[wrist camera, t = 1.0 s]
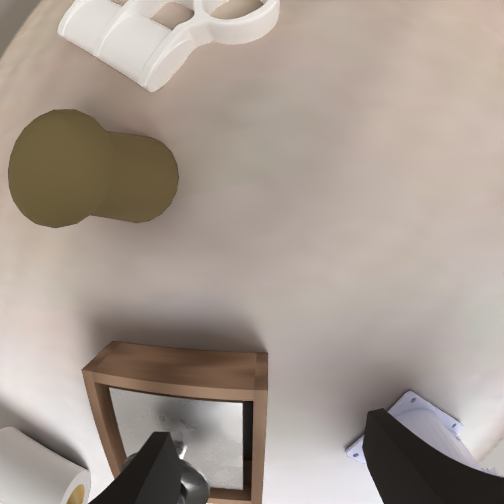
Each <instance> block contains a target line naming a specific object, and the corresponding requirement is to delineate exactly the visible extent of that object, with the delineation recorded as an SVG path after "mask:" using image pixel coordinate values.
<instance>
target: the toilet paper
mask: <svg viewBox="0 0 504 504" xmlns="http://www.w3.org/2000/svg"><path fill="white" fill-rule="evenodd" d="M90 487H91V475H90V472H89V471H88V470H86V469H84V468H82V467H80V466H78V465H76V464H74V463H72V462H71V461H69V460H67V459H65V458H63V457H61V456H60V455H58V454H56V453H54V452H53V451H51V450H49V449H47V448H46V447H44V446H43V445H41V444H39V443H38V442H36V441H34V440H33V439H31V438H30V437H28V436H27V435H25V434H24V433H22V432H21V431H19V430H18V429H16V428H14V427H11V426H8V427H4V428H1V429H0V502H1V503H2V504H87V500H88V497H89V492H90Z"/></svg>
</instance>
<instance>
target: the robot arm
mask: <svg viewBox="0 0 504 504" xmlns="http://www.w3.org/2000/svg"><path fill="white" fill-rule="evenodd" d="M412 398H414V399H413V400H411V399H412ZM410 400H411V401H410ZM462 427H463V425H462V424H461V423H460V422H458V421H457V420H455V419H454V418H452V417H451V416H449V415H448V414H446V413H444V412H443V411H441V410H440V409H438V408H437V407H435V406H434V405H432V404H431V403H429V402H427V401H426V400H424V399H423V398H421V397H420V396H418V395H417V394H415V393H414V392H412V391H408V392H406V393H405V394H404V395H403V396H402V397H401V398H400V399H399V400H398V401H397V402H396V403H395V404H394V405H393V407H392V408H391V409H390V410H389V411H388V412H387V411H386V410H385V409H383V408H382V409H378V410H374V411H369V412H368V415H367V421H366V427H365V433H364V435H363V436H362V437H360V438H359V439H358V440H357V441H356V442H355V443H354V444H353V445H352V446H350V447H349V448H348V449H347V450H346V455H347V456H348V457H350V458H352V459H355V460H357V461H359V462H362V463H364V464H366V465H367V467H368V469H369V472H370V474H371V476H372V478H373V481H374V483H375V485H376V487H377V490H378V492H379V494H380V496H381V498H382V501H383V503H384V504H504V477H503V476H502V475H501V474H500V473H499V472H498V470H497V469H496V468H494V467H491V468H486V467H484V468H482V469H481V468H480V466H479V465H478V463H477V462H476V461H475V459H474V458H473V456H472V455H471V453H470V452H469V451H468V449H467V448H466V446H465V445H464V444H463V442H462V441H461V439H460V438H459V437H458V435H457V433H458V432H459V431H460V430H461V429H462ZM355 453H357V454H355ZM181 473H182V464H181V462H180V459H179V456H178V454H177V451H176V448H175V445H174V443H173V440H172V437H171V434H170V432H157V431H154V432H153V433H152V434H151V435H150V437H149V438H148V439H147V441H146V442H145V443H144V445H143V446H142V447H141V449H140V450H139V451H138V453H137V454H136V455H135V457H134V458H133V459H132V460H131V461H130V463H129V464H128V465H127V466H126V467H125V469H124V470H123V471H122V472H121V473H120V474H119V475H118V476H117V478H116V479H115V480H114V481H113V482H112V483H111V484H110V485H109V486H108V487H107V488H106V489H105V490H104V491H103V492H102V493H100V494H99V495H98V496H97V497H96V498H95V499H93V500H92V501H91V502H90V503H88V504H177V503H178V498H179V493H180V488H181Z"/></svg>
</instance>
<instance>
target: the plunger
mask: <svg viewBox="0 0 504 504" xmlns="http://www.w3.org/2000/svg"><path fill="white" fill-rule="evenodd" d="M109 390H110V395H111V399H112V403H113V408H114V412H115V416H116V420H117V424H118V428H119V432H120V435H121V439H122V442H123V446H124V449H125V453H126V456H127V459H126V460H125V462H124V464H123V466H122V468H121V472H122V471H123V470H124V469H125V467H126V466H127V465H128V464H129V463H130V461H131V460H132V459H133V458H134V457H135V455H136V454H137V453H138V451H139V450H140V449H141V447H142V446H143V445H144V443H145V442H146V441H147V439H148V438H149V437H150V435H151V434H152V433H153V432H154V431H157V432H170V434H171V437H172V440H173V443H174V445H175V448H176V451H177V454H178V456H179V459H180V462H181V464H182V473H181V488H180V493H179V498H178V503H177V504H206V503H207V501H208V499H209V494H210V487H215V488H226V489H240V490H243V401H241V400H223V399H210V398H198V397H188V396H179V395H170V394H162V393H155V392H148V391H141V390H135V389H128V388H123V387H117V386H110V387H109Z"/></svg>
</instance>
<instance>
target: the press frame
mask: <svg viewBox="0 0 504 504" xmlns="http://www.w3.org/2000/svg"><path fill="white" fill-rule="evenodd" d="M82 373H83V378H84V382H85V386H86V390H87V394H88V398H89V402H90V406H91V410H92V413H93V417H94V420H95V424H96V427H97V430H98V433H99V437H100V440H101V443H102V446H103V449H104V452H105V455H106V457H107V460H108V463H109V466H110V469H111V471H112V474H113V476H114V479H116V478H117V476H118V475H119V474H120V473H121V468H122V466H123V464H124V462H125V460H126V459H127V456H126V453H125V449H124V446H123V442H122V439H121V435H120V432H119V428H118V424H117V420H116V416H115V412H114V408H113V403H112V399H111V395H110V390H109V387H110V386H117V387H123V388H128V389H135V390H141V391H148V392H155V393H162V394H170V395H179V396H188V397H198V398H210V399H223V400H241V401H254V404H253V450H252V460H243V490H240V489H226V488H215V487H210V494H209V499H208V501H207V503H212V504H262V491H263V474H264V456H265V438H266V418H267V397H268V353H248V352H225V351H208V350H194V349H181V348H169V347H159V346H149V345H140V344H132V343H123V342H116V341H112V342H111V343H110V344H109V345H108V346H107V347H105V348H104V349H103V350H102V351H101V352H100V353H99V354H98V355H97V356H96V357H95V358H94V359H93V360H91V361H90V362H89V363H88V364H87V365H86V366H85V367H84V368H83V369H82Z"/></svg>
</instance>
